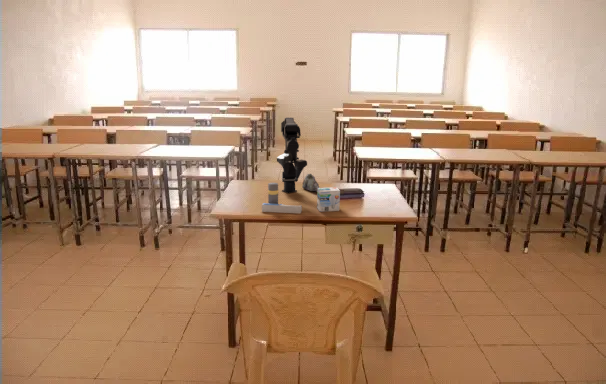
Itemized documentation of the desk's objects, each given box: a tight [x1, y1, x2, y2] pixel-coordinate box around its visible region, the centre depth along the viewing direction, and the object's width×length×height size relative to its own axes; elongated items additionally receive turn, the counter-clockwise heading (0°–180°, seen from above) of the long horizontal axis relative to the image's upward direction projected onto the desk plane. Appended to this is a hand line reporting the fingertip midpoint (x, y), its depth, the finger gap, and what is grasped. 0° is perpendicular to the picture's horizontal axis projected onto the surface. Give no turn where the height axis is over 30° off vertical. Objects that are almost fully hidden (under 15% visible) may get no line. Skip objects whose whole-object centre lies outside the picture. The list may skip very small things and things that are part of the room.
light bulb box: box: [316, 186, 341, 212], centre depth 232 cm, size 11×7×11 cm, turn 101°
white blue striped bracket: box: [261, 202, 303, 214], centre depth 229 cm, size 20×4×4 cm, turn 83°
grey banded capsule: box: [267, 182, 279, 204], centre depth 232 cm, size 5×5×13 cm
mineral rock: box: [301, 173, 320, 192], centre depth 265 cm, size 13×11×10 cm
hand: (291, 176), depth 244 cm, fingers open, 9 cm apart
